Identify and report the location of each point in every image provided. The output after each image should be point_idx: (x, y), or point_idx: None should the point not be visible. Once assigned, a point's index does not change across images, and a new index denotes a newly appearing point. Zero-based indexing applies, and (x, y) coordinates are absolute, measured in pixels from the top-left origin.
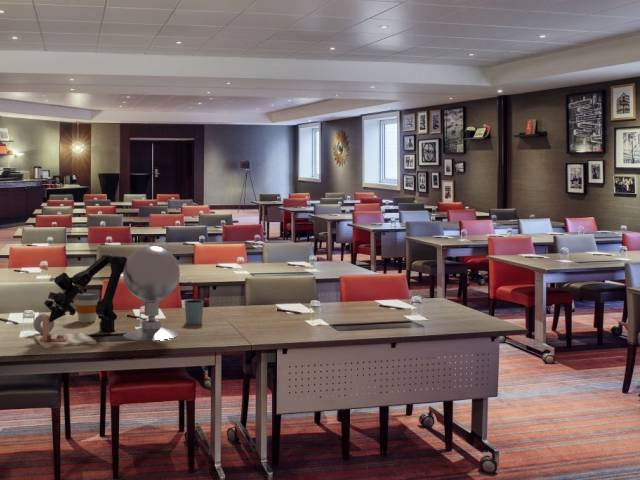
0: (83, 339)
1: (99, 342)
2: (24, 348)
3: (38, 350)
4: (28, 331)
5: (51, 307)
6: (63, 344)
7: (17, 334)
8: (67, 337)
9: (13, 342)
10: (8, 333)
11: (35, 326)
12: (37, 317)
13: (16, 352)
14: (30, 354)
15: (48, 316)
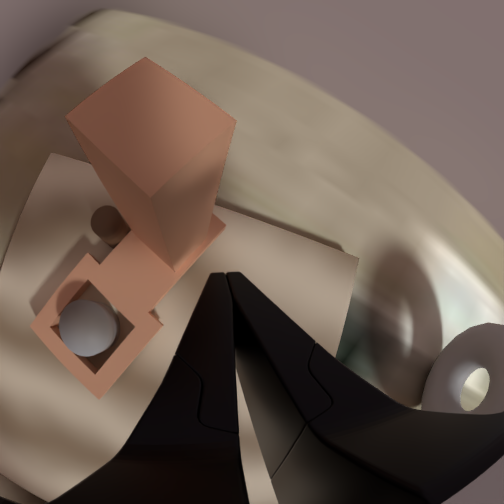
0: (39, 454)
1: (3, 480)
2: None
3: (52, 115)
4: None
5: (466, 428)
6: (2, 270)
7: (472, 257)
8: None
9: (331, 127)
10: (493, 240)
11: (472, 329)
12: None
13: (113, 39)
14: (35, 67)
15: (105, 158)
